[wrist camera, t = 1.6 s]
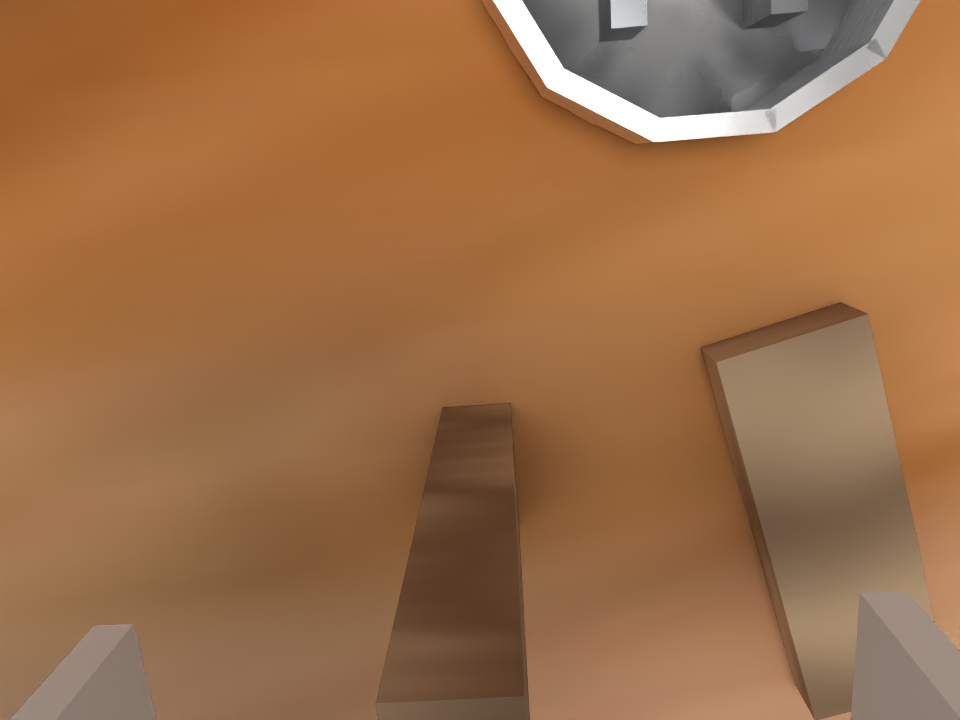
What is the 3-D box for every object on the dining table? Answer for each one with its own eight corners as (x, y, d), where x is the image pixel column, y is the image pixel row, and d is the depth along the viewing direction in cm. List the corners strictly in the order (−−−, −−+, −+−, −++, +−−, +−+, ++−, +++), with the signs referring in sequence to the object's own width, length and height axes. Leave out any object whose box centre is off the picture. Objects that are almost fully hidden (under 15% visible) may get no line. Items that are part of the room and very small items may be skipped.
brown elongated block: (454, 530, 22) (406, 926, 11) (442, 407, 21) (375, 703, 10) (519, 526, 22) (540, 922, 11) (510, 403, 21) (524, 695, 10)
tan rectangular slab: (911, 643, 24) (948, 686, 22) (790, 675, 24) (815, 720, 22) (833, 299, 21) (868, 314, 19) (696, 343, 21) (715, 362, 19)
